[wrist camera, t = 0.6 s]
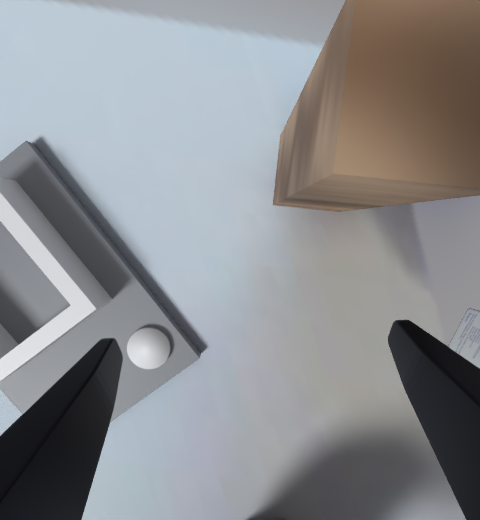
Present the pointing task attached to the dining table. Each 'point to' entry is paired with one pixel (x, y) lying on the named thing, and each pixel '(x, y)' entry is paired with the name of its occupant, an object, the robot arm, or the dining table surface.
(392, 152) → the tan tall block
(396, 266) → the dining table surface
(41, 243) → the grey insertion base
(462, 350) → the medicine box
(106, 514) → the dining table surface
